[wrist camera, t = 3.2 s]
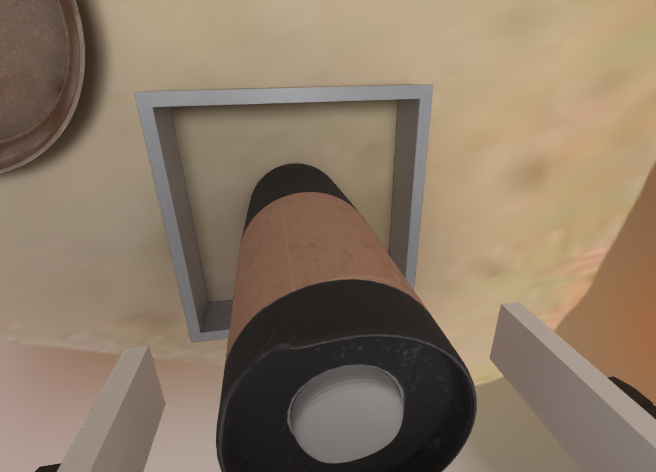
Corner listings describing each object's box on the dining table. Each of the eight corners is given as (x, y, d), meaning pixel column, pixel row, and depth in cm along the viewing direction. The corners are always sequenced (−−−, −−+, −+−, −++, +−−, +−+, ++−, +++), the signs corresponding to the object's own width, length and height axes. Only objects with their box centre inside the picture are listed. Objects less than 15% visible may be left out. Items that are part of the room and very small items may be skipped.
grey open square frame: (200, 311, 30) (191, 342, 26) (154, 90, 23) (133, 92, 19) (395, 289, 33) (411, 315, 29) (409, 84, 25) (433, 84, 22)
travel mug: (341, 247, 30) (460, 499, 12) (251, 253, 29) (227, 544, 11) (343, 157, 27) (508, 313, 9) (242, 160, 26) (188, 347, 8)
